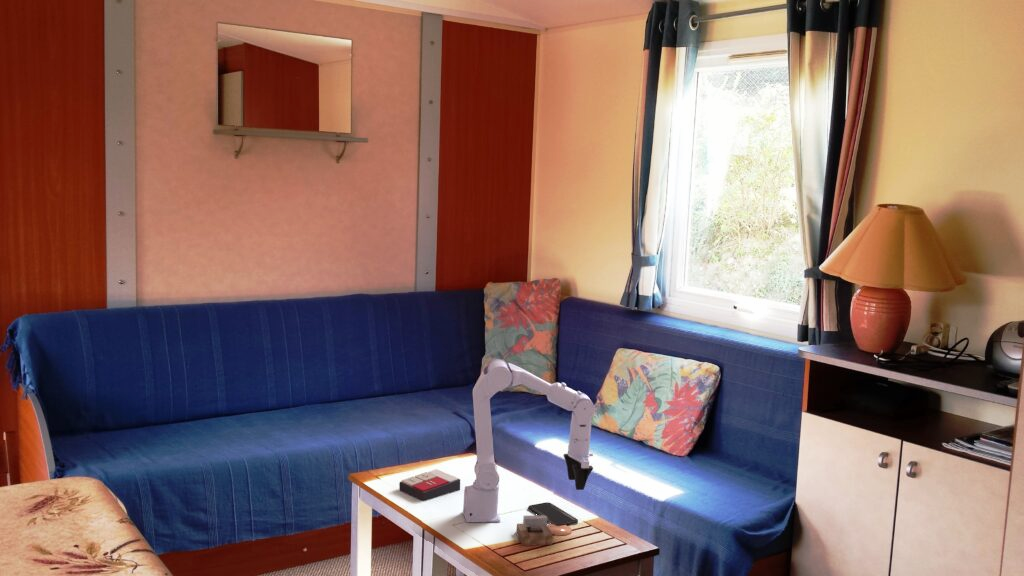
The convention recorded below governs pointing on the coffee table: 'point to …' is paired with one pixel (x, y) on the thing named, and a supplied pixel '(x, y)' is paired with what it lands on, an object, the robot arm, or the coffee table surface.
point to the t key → (535, 522)
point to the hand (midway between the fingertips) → (576, 484)
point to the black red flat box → (429, 485)
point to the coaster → (559, 529)
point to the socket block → (534, 535)
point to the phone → (553, 514)
